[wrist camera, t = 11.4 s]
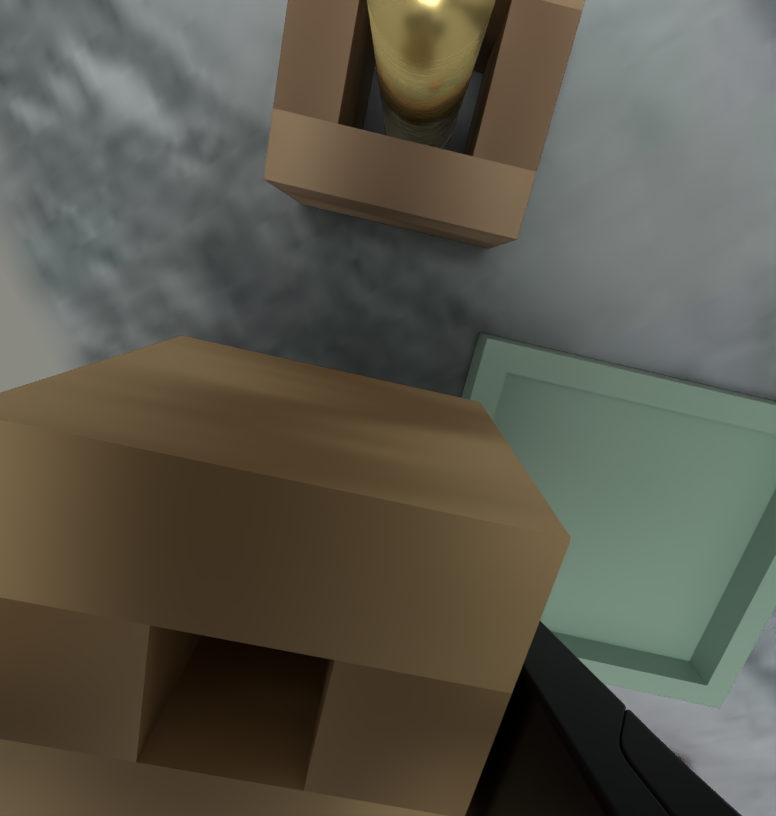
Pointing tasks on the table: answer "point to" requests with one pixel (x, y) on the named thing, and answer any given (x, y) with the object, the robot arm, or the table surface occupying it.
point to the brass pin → (425, 62)
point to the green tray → (644, 512)
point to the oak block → (257, 589)
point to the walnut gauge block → (404, 160)
